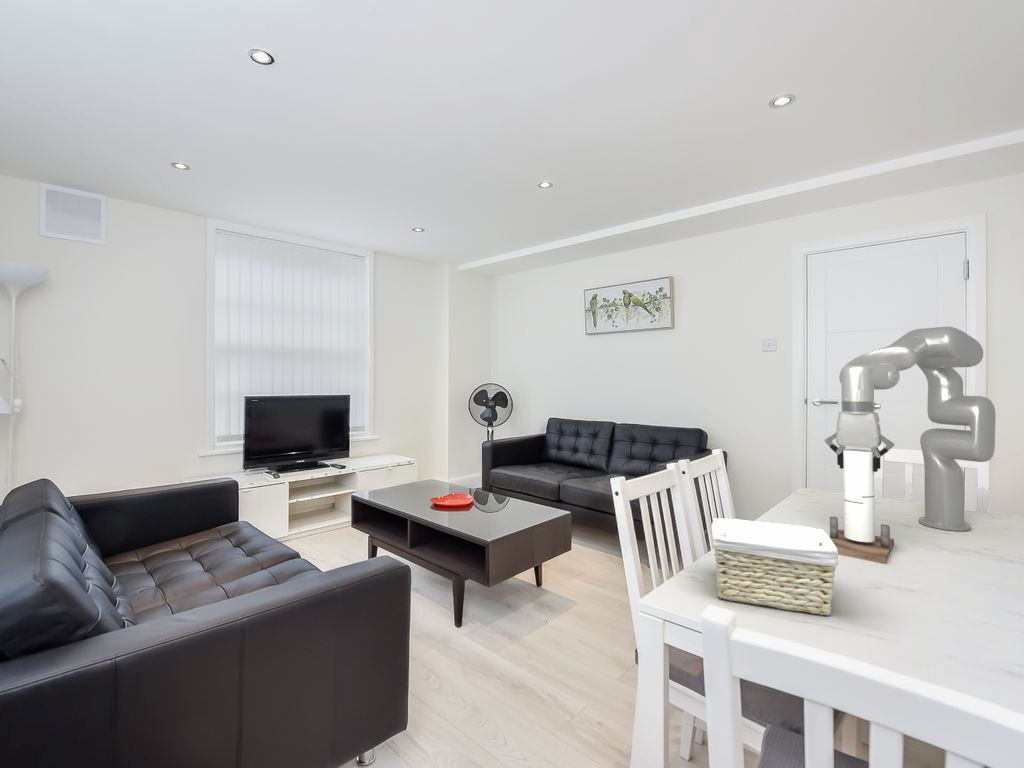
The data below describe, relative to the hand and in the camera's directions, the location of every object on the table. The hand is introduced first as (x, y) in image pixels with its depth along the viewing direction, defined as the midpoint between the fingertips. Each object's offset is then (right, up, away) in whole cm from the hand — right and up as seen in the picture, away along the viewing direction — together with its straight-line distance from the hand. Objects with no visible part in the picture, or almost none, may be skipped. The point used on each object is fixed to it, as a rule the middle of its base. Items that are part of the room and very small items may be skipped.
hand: (858, 469), depth 136 cm
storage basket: (-41, -24, -29) cm, 56 cm away
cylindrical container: (0, -20, 0) cm, 20 cm away
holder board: (0, -23, 0) cm, 23 cm away
